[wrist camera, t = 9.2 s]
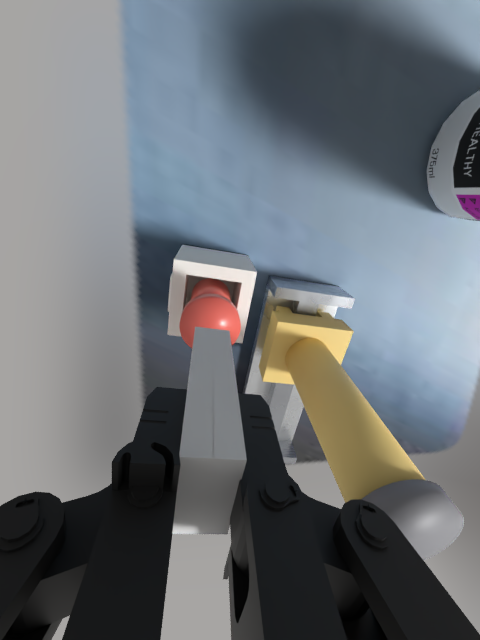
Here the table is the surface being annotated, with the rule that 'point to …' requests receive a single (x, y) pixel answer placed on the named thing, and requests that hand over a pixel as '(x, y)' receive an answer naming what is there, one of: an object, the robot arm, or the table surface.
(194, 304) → the button
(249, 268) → the white button housing
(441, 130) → the supplement can
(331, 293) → the rail
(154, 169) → the table surface
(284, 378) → the sliding lever handle
